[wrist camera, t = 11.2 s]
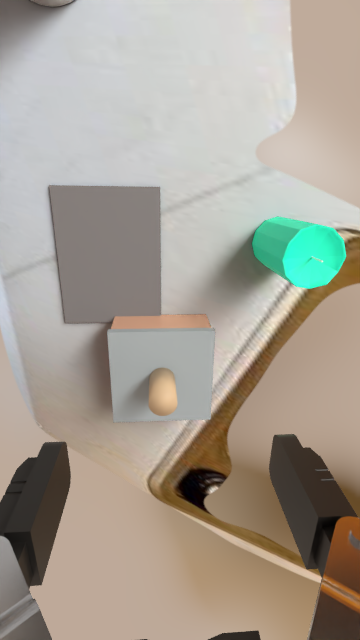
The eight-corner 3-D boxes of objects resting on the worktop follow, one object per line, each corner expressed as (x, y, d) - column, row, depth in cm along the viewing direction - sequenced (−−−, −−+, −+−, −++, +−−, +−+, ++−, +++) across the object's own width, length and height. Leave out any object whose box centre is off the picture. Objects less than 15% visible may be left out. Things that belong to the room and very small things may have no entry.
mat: (50, 185, 36) (48, 185, 36) (160, 187, 37) (160, 187, 37) (66, 321, 42) (65, 322, 42) (161, 320, 43) (161, 321, 43)
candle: (242, 253, 41) (275, 276, 29) (268, 207, 39) (314, 213, 28) (282, 274, 42) (328, 304, 31) (310, 231, 40) (369, 246, 29)
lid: (108, 329, 38) (100, 353, 32) (213, 327, 38) (223, 350, 33) (114, 417, 42) (108, 451, 36) (209, 414, 43) (217, 447, 37)
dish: (115, 315, 42) (110, 330, 38) (205, 314, 43) (211, 329, 38) (119, 393, 46) (115, 415, 42) (202, 391, 47) (207, 413, 43)
